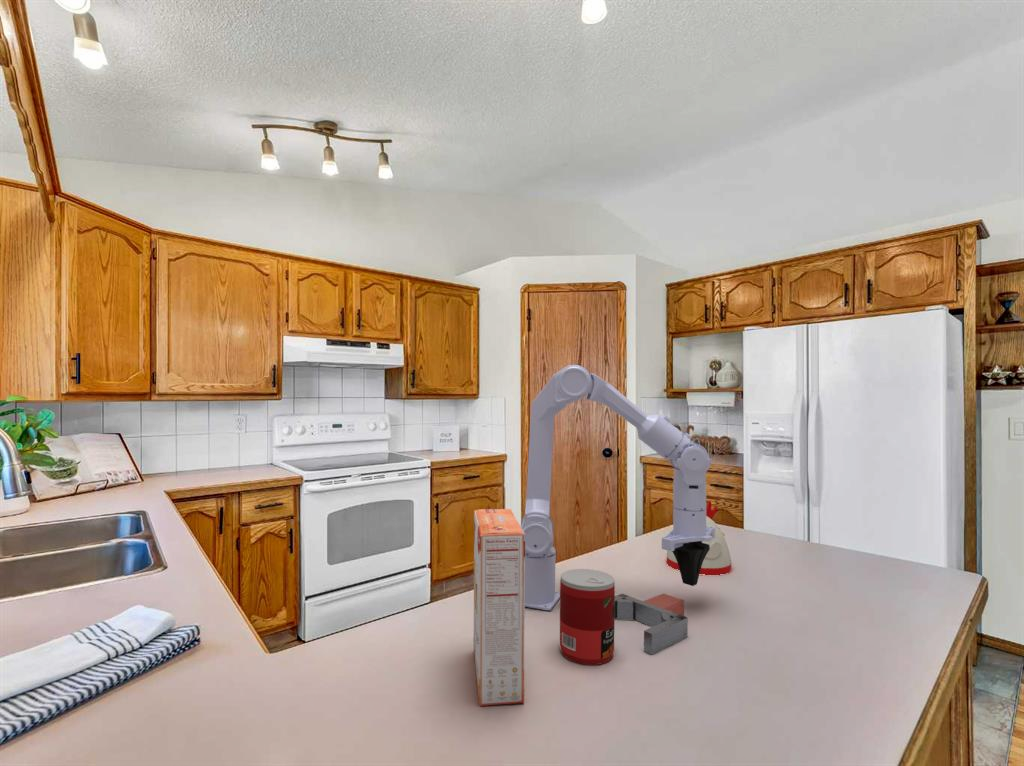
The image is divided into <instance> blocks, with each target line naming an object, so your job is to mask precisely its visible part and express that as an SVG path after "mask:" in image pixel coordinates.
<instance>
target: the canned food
mask: <svg viewBox="0 0 1024 766" xmlns="http://www.w3.org/2000/svg"><path fill="white" fill-rule="evenodd" d="M615 583H616V582H615V578H614V577H613V575H611V574H609V573H608V572H607V573H606V572H604V571H601V570H597V569H596V570H595V569H589V568H575V569H569V570H566V571H564V572H562V573H561V574H560V580H559V593H560V598H559V647H560V650H561V653H562V656H564V657H565V658H566V659H568V660H569V661H571V662H574V663H577V664H581V665H587V664H588V665H589V666H590V665H591V666H594V665H595V664H597V665H601V664H602V665H603V664H605V663H607V662H609V661H610V660H611V659H612V657H613V655H614V652H615V619H614V617H615V596H616V589H615V586H616V585H615ZM595 666H596V665H595Z"/></svg>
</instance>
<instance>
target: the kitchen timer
mask: <svg viewBox="0 0 1024 766" xmlns="http://www.w3.org/2000/svg"><path fill="white" fill-rule="evenodd" d="M717 510H718V506H717V505H714V507H713V508H712V500H708V501H707V503H706V526H710V527H714V528H715V538H712V540H711V541H702V543H705V544H708V545H710V550H709V551H708V553H707V554H706V556H705V558H704V561H703V563H702V566H701V570H700V574H705V575H719V576H721V575H720V574H725V575H727V574H726V573H728V572H730V571H732V558H731V553H730V550H729V546H728V544H727V541H726V537H725V533H723V531H722V530H721V528H720V527H719V526H718V525H717V523H716V522H715V521H714V520H713V519H714V516H715V514H716V513H717ZM666 564H668V565H669V566H671V567H672V568H671V567H670V568H671V569H673V568H674V569H673V570H675V569H678V570H680V569H679V566H678V563H677V560H676V558H675V556H674V554H673V552H672V551H669V550H666ZM668 565H667V566H668ZM669 566H668V567H669ZM678 570H677V571H678ZM730 573H731V572H730ZM728 574H729V573H728Z"/></svg>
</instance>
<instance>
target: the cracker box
mask: <svg viewBox="0 0 1024 766" xmlns="http://www.w3.org/2000/svg"><path fill="white" fill-rule="evenodd" d="M512 510H513V509H512V508H499V509H498V508H497V509H495V508H479V509H475V510H474V513H473V540H474V541H473V553H474V554H473V655H474V667H475V675H476V686H477V695H478V705H479V707H483V706H484V707H485V706H498V705H513V704H514V705H515V704H524V703H525V618H526V617H525V608H526V607H525V533H524V532H523V530H522V528H521V524H520V522H519V521H518V519H517V518H516V516H515V514H514V512H513V511H512Z"/></svg>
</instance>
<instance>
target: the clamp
mask: <svg viewBox="0 0 1024 766" xmlns="http://www.w3.org/2000/svg"><path fill="white" fill-rule="evenodd" d="M684 601H685V600H684V599H681V598H678V597H676V596H673V595H670V594H668V593H664V592H663V593H661V594H658V595H655V596H653V597H651V598H648V599H645V600H641V599H639V598H635V597H633V596H630V595H628V594H624V593H620V594H618V595H615V617H614V620H616V619H617V620H620V621H622V620H623V621H633V620H634V621H637V622H639V623H641V624H643V625H645V626H648V627H649V628H646V629H645V630H643V652H645V653H647V654H648V655H652V656H653V655H654V654H657V653H658V652H661V651H663V650H665V649H666V648H668V647H671V646H672V645H675V644H677V643H678V642H681V641H682V640H684V639H687V638H689V637H688V636H689V635H688V633H689V632H688V631H689V630H688V629H689V628H688V624H689V623H688V621H689V620H688V617H686V616H685V615H684V614H685V612H684V611H685V602H684Z"/></svg>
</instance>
